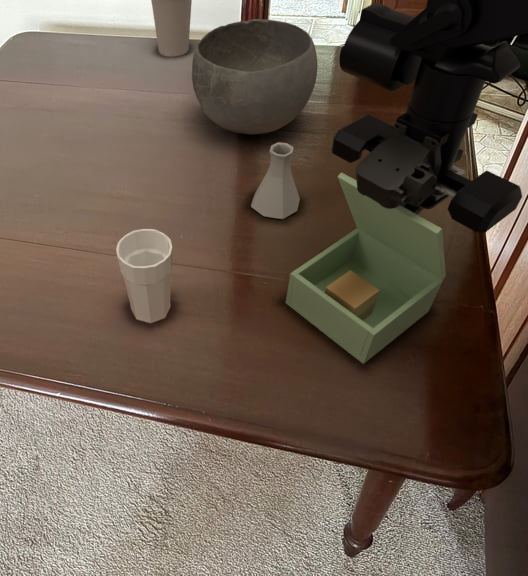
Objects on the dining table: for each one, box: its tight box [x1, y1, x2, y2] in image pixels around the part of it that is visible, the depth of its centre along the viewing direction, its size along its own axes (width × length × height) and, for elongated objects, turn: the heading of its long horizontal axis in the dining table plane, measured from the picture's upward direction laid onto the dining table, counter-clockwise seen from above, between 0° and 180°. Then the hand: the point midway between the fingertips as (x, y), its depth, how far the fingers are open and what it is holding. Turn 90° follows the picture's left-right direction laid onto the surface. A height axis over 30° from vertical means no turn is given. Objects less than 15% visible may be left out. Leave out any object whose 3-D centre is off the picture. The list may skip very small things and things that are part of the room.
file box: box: [285, 227, 444, 365], centre depth 70 cm, size 12×12×6 cm
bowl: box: [191, 18, 318, 135], centre depth 96 cm, size 20×20×15 cm
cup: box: [115, 228, 173, 324], centre depth 71 cm, size 7×7×11 cm
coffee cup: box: [151, 0, 193, 58], centre depth 117 cm, size 10×10×15 cm
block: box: [325, 270, 380, 320], centre depth 69 cm, size 4×4×4 cm
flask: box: [250, 141, 301, 220], centre depth 83 cm, size 7×7×10 cm
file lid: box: [337, 171, 447, 281], centre depth 64 cm, size 13×12×1 cm
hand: (399, 228), depth 65 cm, fingers closed
